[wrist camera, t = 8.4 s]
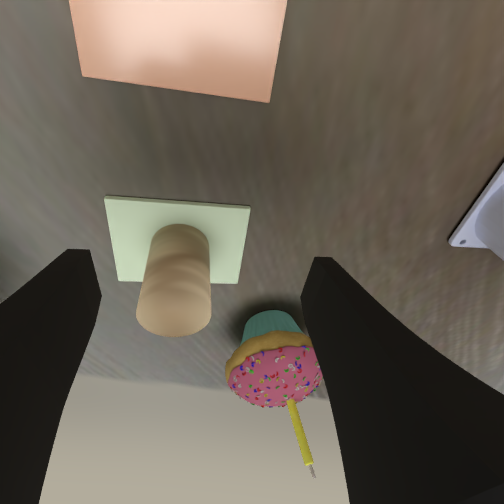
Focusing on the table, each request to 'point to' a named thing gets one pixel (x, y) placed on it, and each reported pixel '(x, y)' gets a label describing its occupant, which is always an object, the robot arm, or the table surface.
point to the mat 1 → (182, 44)
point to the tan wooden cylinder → (176, 283)
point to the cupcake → (275, 368)
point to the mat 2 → (175, 212)
